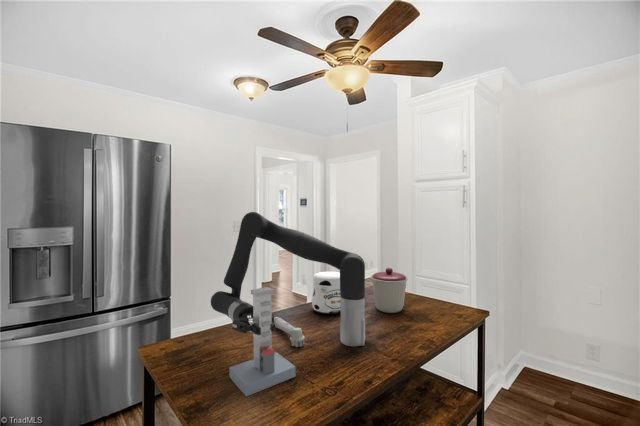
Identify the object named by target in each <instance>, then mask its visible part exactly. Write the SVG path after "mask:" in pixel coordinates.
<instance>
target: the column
mask: <svg viewBox="0 0 640 426" xmlns="http://www.w3.org/2000/svg"><path fill="white" fill-rule="evenodd" d="M272 294H273V295H274V294H275V290H274V289H273V288H271V287H269V286H264V287H258V288H253V289H250V295H252V297H253V300H252V301H253V303H252V304H253V305H252V306H253V323H254V324H256V325H257V326H259V327H260V328H261V335H257V334H254V333H253V332H252V333H253V340H252V341H253V359H254V366H255V367H256V368H257V369H258V370H259V371H261V370H263V354H262V351H264V350H267V349H270V348H273V347H272V345H273V344H272V342H273V341H272V334H273V333H272V332H273V331H271V324H272V314H273V313H271V312H272Z"/></svg>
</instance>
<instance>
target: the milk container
mask: <svg viewBox="0 0 640 426" xmlns="http://www.w3.org/2000/svg"><path fill="white" fill-rule="evenodd" d="M312 293H313V294H312V297H311V306H312V309H313V310H314V311H315V312H317V313H319V314H323V315H336V314H340V271H339V272H338V271H320V272H316V273H314V275H313V292H312Z"/></svg>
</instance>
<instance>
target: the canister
mask: <svg viewBox="0 0 640 426" xmlns="http://www.w3.org/2000/svg"><path fill="white" fill-rule="evenodd" d="M370 279H372V280H371V281H372V290H373V291H372V292H373V299H374V305H375V307H376V309H377V311H379V312H383V313H387V314H394V313H396V314H397V313H400V312H401V311H402V309H403V308H404V304H405V296H406V288H407V282H408V280H409V279H408V276H406V275H404V274H403V273H400V272H396V271H394V272H393V268H391V267H387V268H385V271H380V272H379V271H378V272H375V273H374V274H371V276H370Z"/></svg>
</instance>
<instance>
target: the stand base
mask: <svg viewBox="0 0 640 426" xmlns="http://www.w3.org/2000/svg"><path fill="white" fill-rule="evenodd" d="M262 354H263V370H261V371H259V370H258V369H257V368H256V367H255V366H254V358H253V359H250V360H247V361H244V362H241V363H238V364H235V365H232V366H229V372H228V373H229V379H231V380H232V382H233V384H235V385H236V387H237V388H238V389H239V390H240V391H241V392H242V393H243V395H244V396H245V397H249V396H251V395H254V394H255V393H259V392H261V391H263V390H266V389H268V388H271V387H273V386H275V385H278V384H281V383H284V382H286V381H288V380H290V379H293V378H295V377H296V374H297V373H296V371H297V368H296V366H295V365H294V364H293V363H291V361H289V360H288V359H286V358H285V357H284V356H283V355H281V354H280V353H278V352H277V351H276V350H275V349H274V348H273V347H272V348H270V349H267V350H264V351H262Z"/></svg>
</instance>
